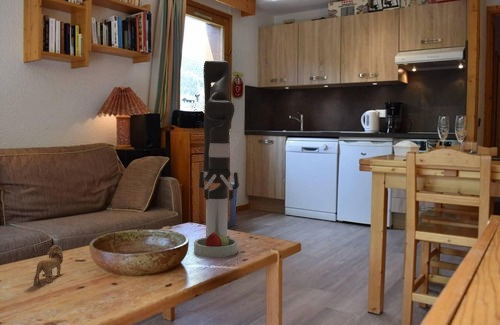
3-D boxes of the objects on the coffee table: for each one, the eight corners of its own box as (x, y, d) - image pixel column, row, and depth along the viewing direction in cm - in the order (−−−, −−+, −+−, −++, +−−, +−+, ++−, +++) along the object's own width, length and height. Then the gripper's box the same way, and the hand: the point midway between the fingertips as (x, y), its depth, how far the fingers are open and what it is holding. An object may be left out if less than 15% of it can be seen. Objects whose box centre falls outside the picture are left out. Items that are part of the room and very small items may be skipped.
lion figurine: (49, 271, 139) (48, 243, 138) (66, 271, 139) (66, 243, 138) (29, 287, 124) (29, 256, 123) (49, 287, 124) (48, 256, 124)
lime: (216, 247, 168) (217, 234, 168) (229, 247, 168) (229, 235, 168) (214, 250, 163) (214, 237, 163) (227, 251, 163) (228, 238, 163)
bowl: (199, 246, 172) (199, 236, 171) (239, 248, 170) (239, 237, 170) (189, 258, 156) (190, 246, 155) (234, 260, 154) (234, 248, 154)
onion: (213, 255, 156) (214, 233, 156) (202, 253, 160) (202, 231, 159) (224, 252, 161) (224, 231, 160) (212, 249, 164) (213, 229, 164)
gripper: (239, 155, 161) (239, 198, 162) (202, 154, 163) (201, 197, 164) (237, 156, 154) (236, 202, 155) (197, 155, 155) (197, 200, 156)
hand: (218, 199), depth 159 cm, fingers open, 8 cm apart
